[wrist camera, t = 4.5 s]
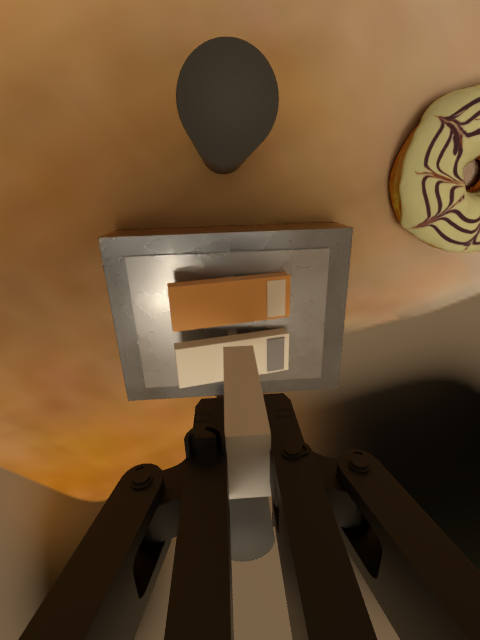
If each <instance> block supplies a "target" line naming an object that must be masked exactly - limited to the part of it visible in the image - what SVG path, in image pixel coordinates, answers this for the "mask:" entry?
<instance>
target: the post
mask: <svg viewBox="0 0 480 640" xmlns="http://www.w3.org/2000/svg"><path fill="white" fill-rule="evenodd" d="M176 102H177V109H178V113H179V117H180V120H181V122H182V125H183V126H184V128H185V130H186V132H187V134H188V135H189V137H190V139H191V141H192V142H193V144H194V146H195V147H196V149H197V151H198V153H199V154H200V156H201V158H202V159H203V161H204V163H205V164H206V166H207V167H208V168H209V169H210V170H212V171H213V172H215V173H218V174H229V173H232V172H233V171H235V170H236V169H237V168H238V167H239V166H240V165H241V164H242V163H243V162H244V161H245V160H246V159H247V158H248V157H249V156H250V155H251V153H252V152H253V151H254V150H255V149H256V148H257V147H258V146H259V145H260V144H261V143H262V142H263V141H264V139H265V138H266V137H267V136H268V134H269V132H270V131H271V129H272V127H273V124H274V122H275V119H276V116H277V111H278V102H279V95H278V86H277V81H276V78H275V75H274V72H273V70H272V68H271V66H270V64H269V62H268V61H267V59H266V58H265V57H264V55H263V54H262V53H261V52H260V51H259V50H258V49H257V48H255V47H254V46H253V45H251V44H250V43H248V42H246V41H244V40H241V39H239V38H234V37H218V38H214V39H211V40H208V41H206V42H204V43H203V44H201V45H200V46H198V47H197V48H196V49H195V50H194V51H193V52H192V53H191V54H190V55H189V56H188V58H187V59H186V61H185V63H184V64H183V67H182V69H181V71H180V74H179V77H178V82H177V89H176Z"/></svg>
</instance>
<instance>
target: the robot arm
mask: <svg viewBox="0 0 480 640" xmlns="http://www.w3.org/2000/svg"><path fill="white" fill-rule="evenodd" d="M223 365H224V398H208V399H201V400H200V401H199V403H198V404H197V405H196V407H195V417H194V424H193V428H192V429H191V430H190V431H189V432H188V433H187V434H186V436H185V438H184V443H185V451H186V459H185V460H184V461H183V462H181V463H180V464H178V465H176V466H174V467H172V468H169V469H166V470H163V471H162V470H161V469H160V468H159V467H158V466H157V465H154V464H140V465H137V466H134V467H133V468H131V469H130V470H128V471H127V472H126V473H125V474H124V475H123V476H122V478H121V479H120V481H119V482H118V484H117V485H116V487H115V489H114V490H113V492H112V493H111V495H110V496H109V498H108V500H107V501H106V503H105V504H104V506H103V507H102V509H101V511H100V512H99V514H98V515H97V517H96V518H95V520H94V522H93V523H92V525H91V527H90V528H89V530H88V531H87V533H86V534H85V536H84V537H83V539H82V540H81V542H80V544H79V545H78V547H77V548H76V550H75V552H74V553H73V555H72V556H71V558H70V559H69V561H68V563H67V564H66V566H65V567H64V569H63V571H62V572H61V574H60V575H59V577H58V578H57V580H56V581H55V583H54V585H53V586H52V588H51V589H50V591H49V593H48V594H47V596H46V597H45V599H44V600H43V602H42V604H41V605H40V607H39V608H38V610H37V611H36V613H35V614H34V616H33V618H32V619H31V621H30V622H29V624H28V625H27V627H26V629H25V630H24V632H23V633H22V635H21V636H20V638H19V640H134V638H135V635H136V632H137V630H138V627H139V624H140V622H141V619H142V617H143V614H144V611H145V609H146V606H147V603H148V601H149V598H150V596H151V593H152V590H153V588H154V585H155V583H156V580H157V577H158V575H159V572H160V569H161V567H162V564H163V561H164V559H165V556H166V553H167V551H168V548H169V546H170V543H171V539H172V538H174V537H176V536H177V539H176V547H175V555H174V564H173V571H172V580H171V588H170V596H169V604H168V612H167V620H166V628H165V636H164V640H234V633H233V632H234V631H233V598H232V568H231V533H230V507H229V499H239V498H253V497H267V496H271V493H272V526H275V529H276V537H277V542H278V549H279V556H280V562H281V569H282V575H283V581H284V588H285V594H286V600H287V607H288V612H289V619H290V626H291V632H292V638H293V640H377V637H376V634H375V632H374V629H373V626H372V623H371V620H370V617H369V614H368V611H367V608H366V606H365V603H364V600H363V597H362V594H361V591H360V588H359V585H358V582H357V579H356V577H355V574H354V571H353V568H352V565H351V562H350V559H349V557H348V554H347V551H348V553H349V554H350V556H351V558H352V559H353V561H354V563H355V564H356V566H357V568H358V570H359V571H360V573H361V574H362V576H363V578H364V579H365V581H366V583H367V584H368V586H369V588H370V590H371V591H372V593H373V595H374V596H375V598H376V600H377V601H378V603H379V605H380V606H381V608H382V610H383V611H384V613H385V615H386V616H387V618H388V620H389V621H390V623H391V625H392V627H393V628H394V630H395V632H396V633H397V635H398V637H399V638H400V640H480V572H479V571H478V570H477V569H476V567H475V566H474V565H473V564H472V563H471V562H470V561H469V560H468V559H467V558H466V556H465V555H464V554H463V553H462V552H461V551H460V550H459V549H458V548H457V547H456V545H455V544H454V543H453V542H452V541H451V540H450V539H449V538H448V537H447V536H446V535H445V534H444V532H443V531H442V530H441V529H440V528H439V527H438V526H437V525H436V524H435V523H434V521H433V520H432V519H431V518H430V517H429V516H428V515H427V514H426V513H425V512H424V510H423V509H422V508H421V507H420V506H419V505H418V504H417V503H416V502H415V501H414V499H413V498H412V497H411V496H410V495H409V494H408V493H407V492H406V491H405V490H404V488H402V486H401V485H400V484H399V483H398V482H397V481H396V480H395V479H394V478H393V476H392V475H391V474H390V473H389V472H388V471H387V470H386V469H385V468H384V467H383V466H382V464H381V463H380V462H379V461H378V460H377V459H376V458H375V457H373V456H372V455H371V454H369V453H367V452H365V451H361V450H357V449H350V450H346V451H344V452H341V454H340V455H339V456H338V459H336V458H331V457H326V456H322V455H319V454H317V453H315V452H313V451H312V450H311V448H310V447H309V445H307V444H306V443H305V442H304V440H303V436H302V433H301V431H300V428H299V424H298V421H297V419H296V416H295V412H294V410H293V407H292V403H291V400H290V399H289V398H288V397H287V396H286V395H285V394H283V393H280V394H263V393H262V388H261V383H260V378H259V373H258V368H257V363H256V358H255V354H254V349H253V345H250V346H231V347H223ZM346 549H347V550H346Z"/></svg>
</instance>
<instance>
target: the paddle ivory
mask: <svg viewBox="0 0 480 640" xmlns="http://www.w3.org/2000/svg"><path fill="white" fill-rule="evenodd" d="M250 345H253V349H254V354H255V358H256V363H257V368H258V373H259V375H260V374H266V373H272V372H278V371H283V370H288V362H289V333H288V332H287V331H286V330H285V329H284V328H279V329H272V330H265V331H257V332H250V333H243V334H236V335H229V336H222V337H215V338H208V339H201V340H194V341H187V342H180V343H174V349H175V358H176V367H177V375H178V383H179V388H186V387H191V386H197V385H203V384H209V383H214V382H220V381H224V365H223V347H231V346H250Z"/></svg>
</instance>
